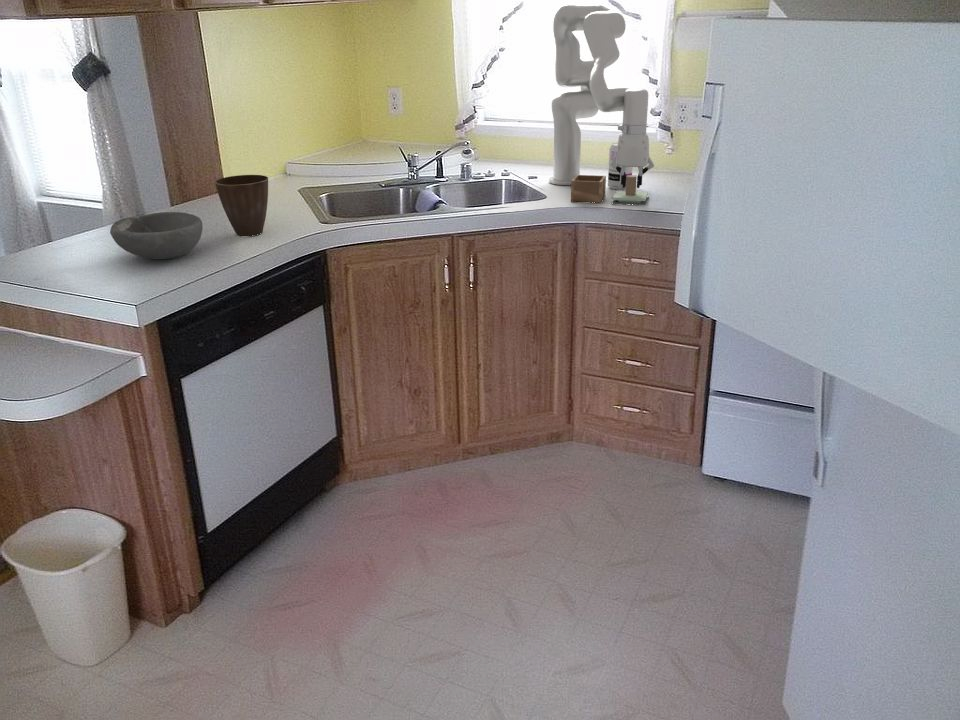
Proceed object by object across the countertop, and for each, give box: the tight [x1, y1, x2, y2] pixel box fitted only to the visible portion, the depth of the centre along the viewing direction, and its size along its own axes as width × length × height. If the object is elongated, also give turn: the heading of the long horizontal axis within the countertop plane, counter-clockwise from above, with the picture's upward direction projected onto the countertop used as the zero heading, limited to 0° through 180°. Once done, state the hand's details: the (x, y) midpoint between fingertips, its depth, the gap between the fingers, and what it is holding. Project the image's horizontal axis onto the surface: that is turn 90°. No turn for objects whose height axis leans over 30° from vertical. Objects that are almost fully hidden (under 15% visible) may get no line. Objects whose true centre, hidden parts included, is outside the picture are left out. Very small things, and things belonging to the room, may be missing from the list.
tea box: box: [570, 174, 607, 204], centre depth 270 cm, size 10×10×7 cm
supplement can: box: [607, 142, 633, 191], centre depth 284 cm, size 8×8×15 cm
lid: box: [612, 174, 649, 203], centre depth 266 cm, size 10×10×8 cm
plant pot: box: [214, 174, 269, 237], centre depth 237 cm, size 15×15×16 cm
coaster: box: [611, 196, 650, 206], centre depth 268 cm, size 11×11×1 cm
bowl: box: [109, 211, 203, 260], centre depth 219 cm, size 23×22×10 cm
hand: (631, 186), depth 266 cm, fingers open, 4 cm apart
